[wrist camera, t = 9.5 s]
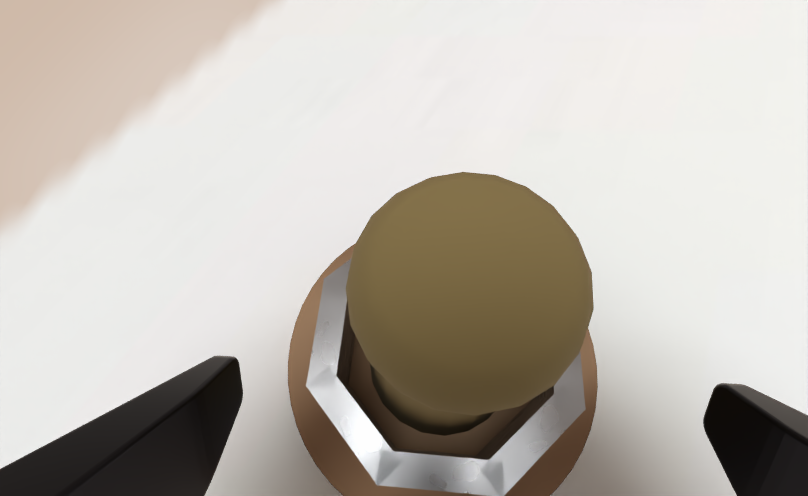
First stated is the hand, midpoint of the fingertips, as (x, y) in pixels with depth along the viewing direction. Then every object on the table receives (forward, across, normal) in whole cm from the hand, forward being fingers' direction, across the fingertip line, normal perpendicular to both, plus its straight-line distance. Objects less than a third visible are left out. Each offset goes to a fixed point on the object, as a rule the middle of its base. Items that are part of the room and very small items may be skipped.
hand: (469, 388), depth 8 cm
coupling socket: (+9, 0, +6) cm, 11 cm away
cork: (+9, 0, +5) cm, 10 cm away
